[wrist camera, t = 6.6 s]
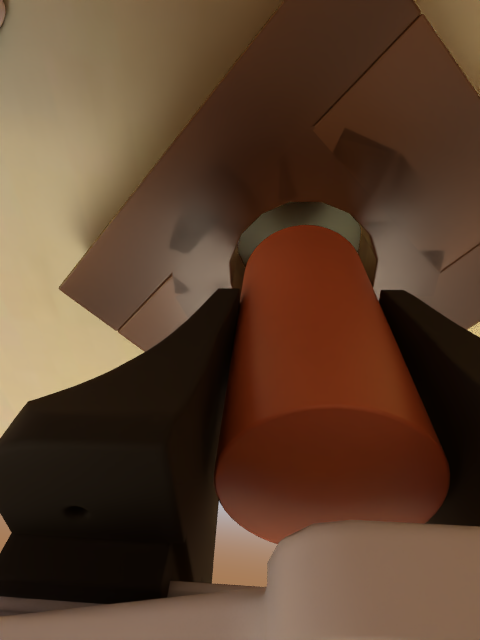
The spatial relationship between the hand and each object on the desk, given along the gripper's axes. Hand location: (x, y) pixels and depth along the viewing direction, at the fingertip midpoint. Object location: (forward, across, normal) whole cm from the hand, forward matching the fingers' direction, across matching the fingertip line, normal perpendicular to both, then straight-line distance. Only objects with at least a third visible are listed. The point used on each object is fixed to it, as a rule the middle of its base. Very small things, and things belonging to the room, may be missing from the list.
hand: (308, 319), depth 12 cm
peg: (+2, 0, 0) cm, 2 cm away
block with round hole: (+6, 0, 0) cm, 6 cm away
